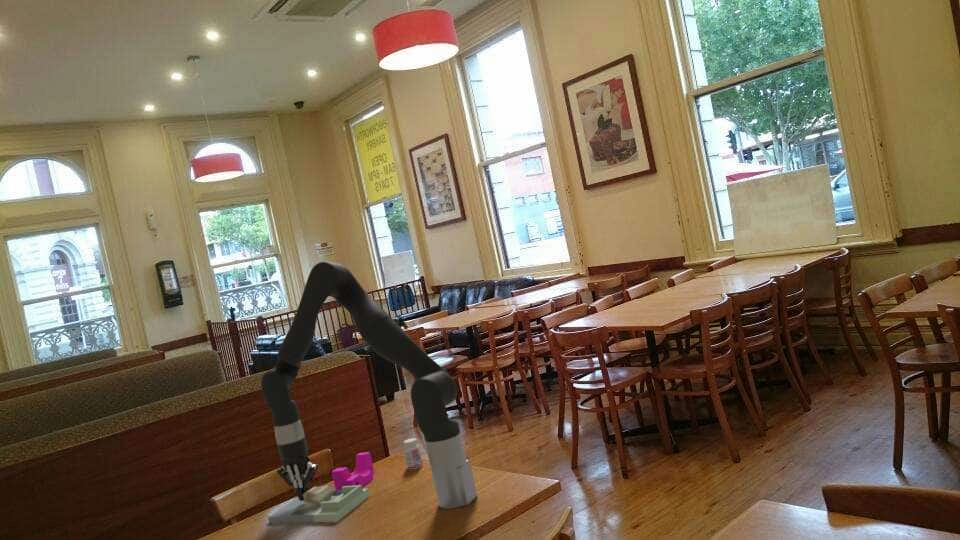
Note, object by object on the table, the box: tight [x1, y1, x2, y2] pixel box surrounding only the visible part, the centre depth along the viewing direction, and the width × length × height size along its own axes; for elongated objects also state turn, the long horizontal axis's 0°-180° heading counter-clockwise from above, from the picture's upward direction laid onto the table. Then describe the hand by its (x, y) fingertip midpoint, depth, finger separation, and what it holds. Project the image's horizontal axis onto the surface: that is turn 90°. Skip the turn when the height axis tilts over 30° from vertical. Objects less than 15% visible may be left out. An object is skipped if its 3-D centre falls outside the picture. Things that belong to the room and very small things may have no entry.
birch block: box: [303, 485, 331, 507], centre depth 184 cm, size 5×5×4 cm
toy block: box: [331, 451, 375, 490], centre depth 200 cm, size 15×6×8 cm, turn 158°
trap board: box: [267, 485, 371, 524], centre depth 184 cm, size 22×16×4 cm
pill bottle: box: [403, 437, 424, 470], centre depth 205 cm, size 5×5×8 cm
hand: (304, 499), depth 186 cm, fingers closed
